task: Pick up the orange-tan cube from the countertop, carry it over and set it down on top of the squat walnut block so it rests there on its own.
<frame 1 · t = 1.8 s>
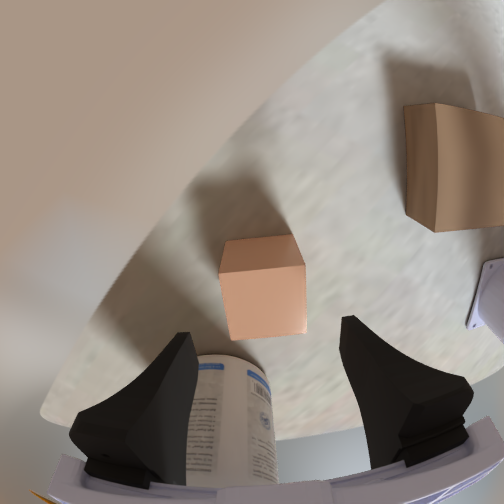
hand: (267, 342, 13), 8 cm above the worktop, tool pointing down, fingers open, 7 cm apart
walnut block: (447, 162, 17), on the worktop
supplement tub: (221, 383, 25), on the worktop
orange-tan cube: (262, 267, 21), on the worktop
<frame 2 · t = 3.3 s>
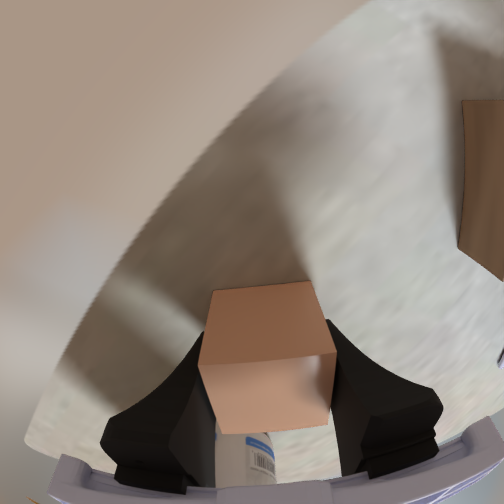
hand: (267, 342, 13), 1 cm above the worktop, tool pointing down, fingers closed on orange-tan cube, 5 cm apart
supplement tub: (215, 440, 19), on the worktop
orange-tan cube: (266, 324, 14), on the worktop, touching gripper
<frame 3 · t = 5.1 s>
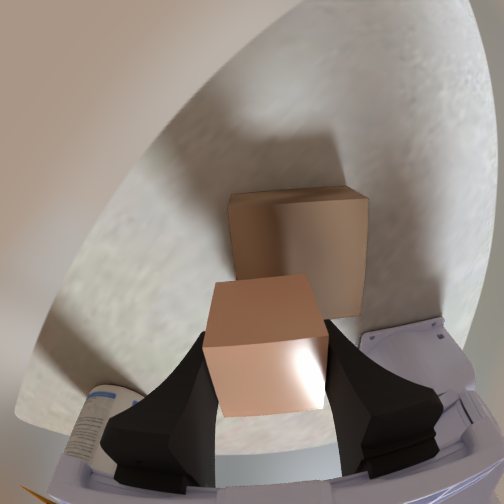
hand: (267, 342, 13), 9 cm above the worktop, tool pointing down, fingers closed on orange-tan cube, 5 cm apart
walnut block: (293, 244, 21), on the worktop
supplement tub: (127, 405, 29), on the worktop
orange-tan cube: (264, 315, 15), point 6 cm above the worktop, touching gripper
when the fingers open (6 cm above the worktop, at t = 6.9 s): orange-tan cube stays where it is, resting on walnut block.
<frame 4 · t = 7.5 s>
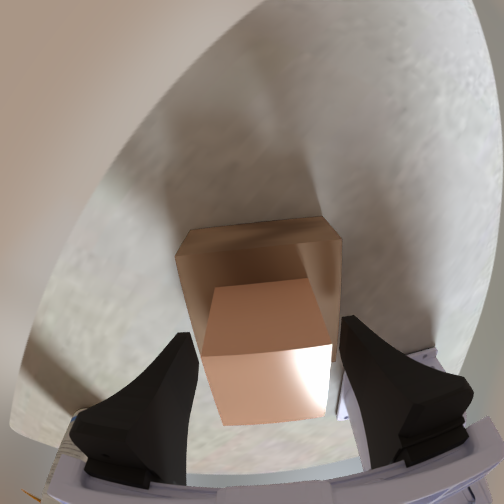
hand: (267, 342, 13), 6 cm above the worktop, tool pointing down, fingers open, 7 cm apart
walnut block: (262, 282, 19), on the worktop
supplement tub: (111, 427, 27), on the worktop
orange-tan cube: (265, 320, 15), point 4 cm above the worktop, touching walnut block
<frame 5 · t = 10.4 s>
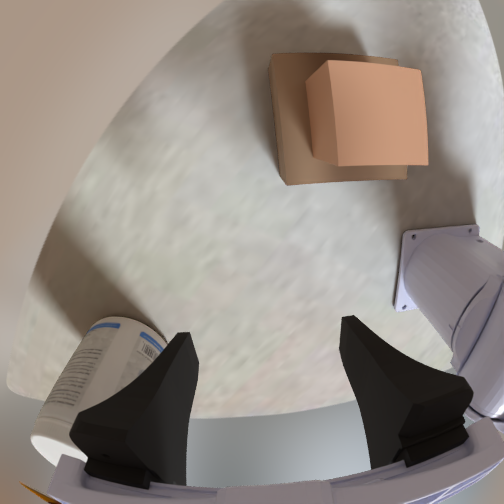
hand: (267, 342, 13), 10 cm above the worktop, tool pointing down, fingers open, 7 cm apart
walnut block: (329, 119, 18), on the worktop
supplement tub: (132, 348, 27), on the worktop
orange-tan cube: (347, 118, 15), point 4 cm above the worktop, touching walnut block
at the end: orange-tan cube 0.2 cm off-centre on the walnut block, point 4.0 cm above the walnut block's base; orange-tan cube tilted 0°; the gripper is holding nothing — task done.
